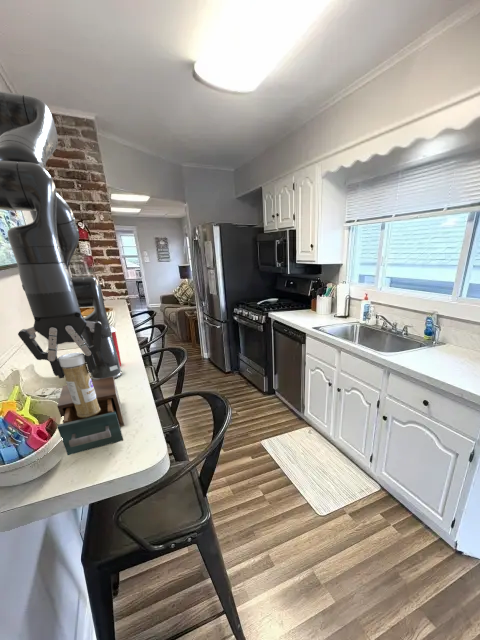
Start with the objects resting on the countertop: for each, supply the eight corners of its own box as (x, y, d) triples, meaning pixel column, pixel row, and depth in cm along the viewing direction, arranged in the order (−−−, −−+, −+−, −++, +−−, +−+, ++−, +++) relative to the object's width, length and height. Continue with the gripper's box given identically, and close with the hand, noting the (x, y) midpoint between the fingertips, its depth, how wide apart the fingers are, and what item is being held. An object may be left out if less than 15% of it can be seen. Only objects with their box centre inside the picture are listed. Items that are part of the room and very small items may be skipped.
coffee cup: (123, 361, 124) (114, 324, 118) (125, 367, 117) (116, 328, 111) (99, 365, 120) (88, 327, 114) (100, 371, 113) (89, 331, 107)
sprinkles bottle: (101, 414, 67) (84, 355, 62) (77, 420, 65) (57, 360, 60) (100, 406, 71) (83, 350, 65) (76, 412, 68) (57, 354, 63)
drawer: (124, 449, 65) (116, 421, 62) (66, 466, 60) (54, 436, 58) (120, 417, 78) (113, 393, 76) (71, 428, 74) (63, 403, 71)
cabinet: (124, 425, 76) (115, 394, 73) (69, 439, 71) (57, 406, 68) (121, 404, 87) (113, 376, 84) (72, 415, 82) (62, 385, 79)
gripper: (94, 285, 64) (114, 363, 70) (6, 290, 57) (37, 375, 64) (93, 288, 58) (116, 373, 64) (-5, 294, 51) (31, 388, 58)
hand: (76, 374), depth 64 cm, fingers closed on sprinkles bottle, 4 cm apart
